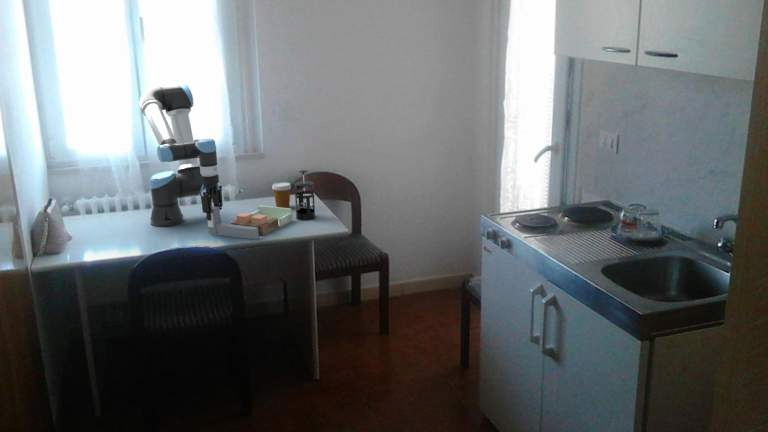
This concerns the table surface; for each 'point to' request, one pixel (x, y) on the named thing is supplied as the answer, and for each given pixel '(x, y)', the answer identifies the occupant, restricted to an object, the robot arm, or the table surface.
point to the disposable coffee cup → (282, 194)
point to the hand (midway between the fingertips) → (214, 225)
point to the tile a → (244, 217)
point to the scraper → (231, 227)
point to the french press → (304, 207)
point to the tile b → (259, 219)
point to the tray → (275, 214)
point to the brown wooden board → (262, 229)
